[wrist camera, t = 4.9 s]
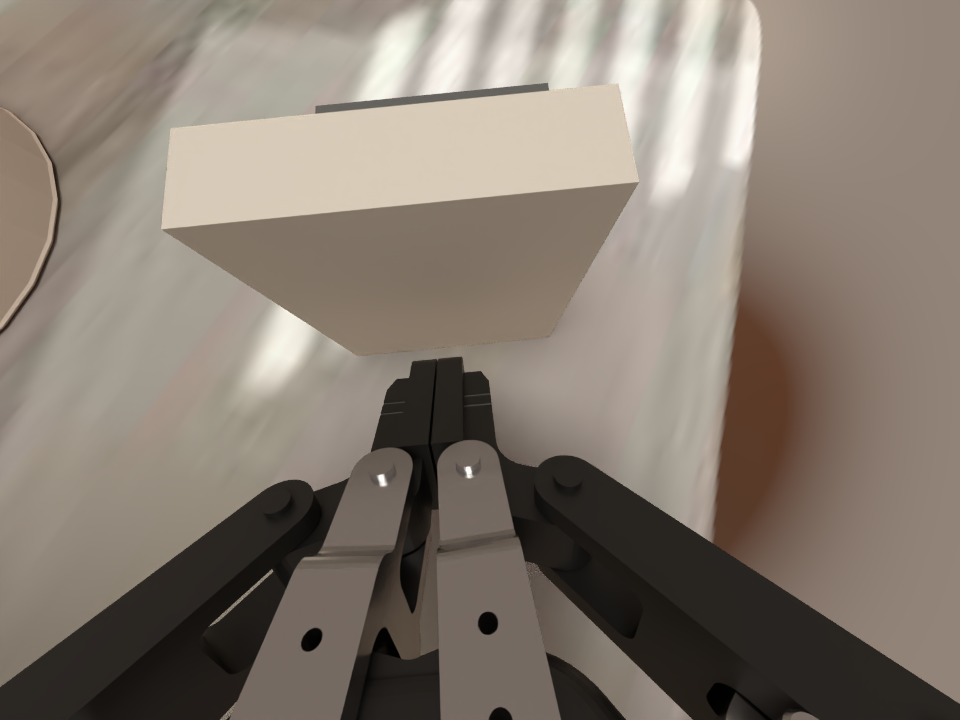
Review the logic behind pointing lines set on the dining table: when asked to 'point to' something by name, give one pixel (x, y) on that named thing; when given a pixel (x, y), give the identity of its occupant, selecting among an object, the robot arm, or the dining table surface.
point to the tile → (410, 212)
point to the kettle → (23, 212)
